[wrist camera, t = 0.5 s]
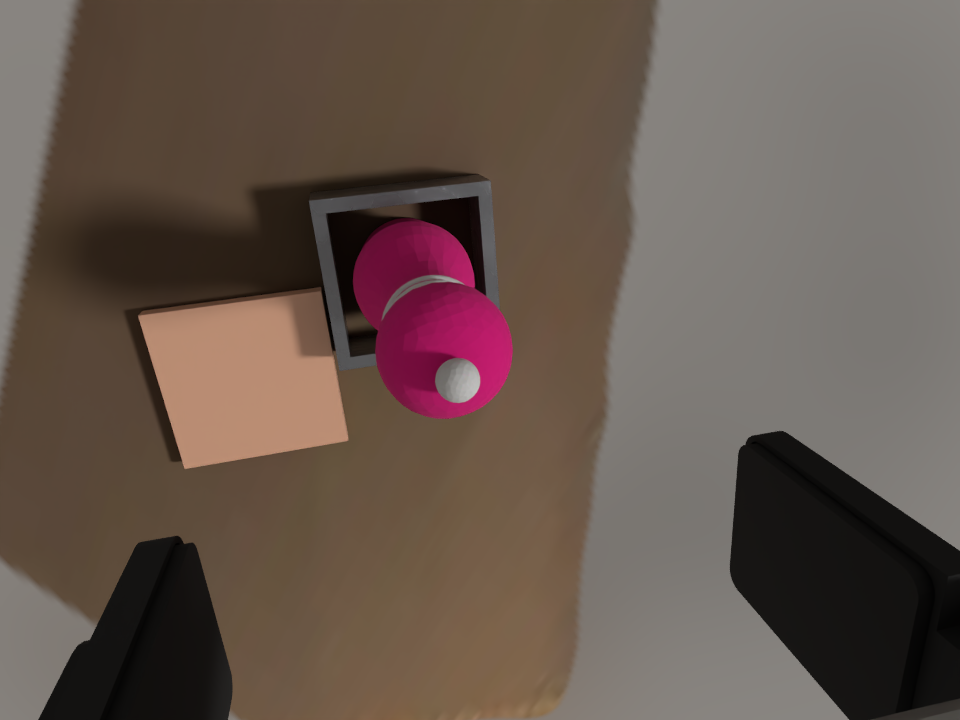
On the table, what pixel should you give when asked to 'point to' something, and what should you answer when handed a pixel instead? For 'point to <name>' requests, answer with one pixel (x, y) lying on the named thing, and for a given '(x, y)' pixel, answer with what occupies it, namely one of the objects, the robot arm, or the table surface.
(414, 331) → the pepper mill
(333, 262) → the holder sleeve
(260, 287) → the table surface
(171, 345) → the plate
